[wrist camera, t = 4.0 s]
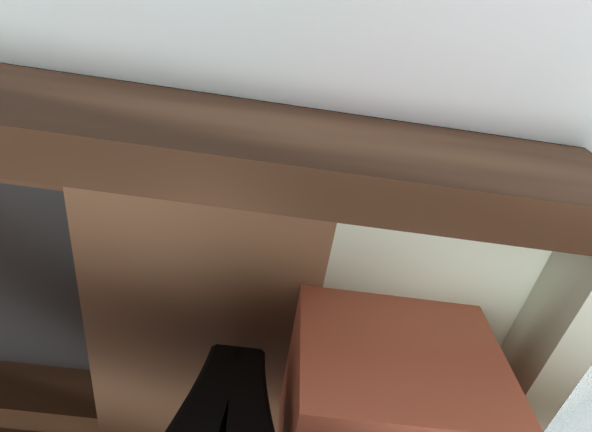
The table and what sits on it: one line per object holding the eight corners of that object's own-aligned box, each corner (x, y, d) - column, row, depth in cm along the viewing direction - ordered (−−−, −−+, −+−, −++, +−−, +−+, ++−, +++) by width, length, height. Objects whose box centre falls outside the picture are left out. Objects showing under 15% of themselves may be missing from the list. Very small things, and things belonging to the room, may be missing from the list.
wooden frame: (437, 436, 17) (466, 540, 14) (-303, 357, 15) (-452, 453, 12) (584, 147, 11) (694, 221, 8) (-615, -27, 9) (-1059, -22, 6)
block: (427, 417, 13) (464, 554, 10) (279, 402, 13) (271, 537, 10) (479, 305, 11) (547, 439, 8) (300, 284, 11) (299, 413, 8)
